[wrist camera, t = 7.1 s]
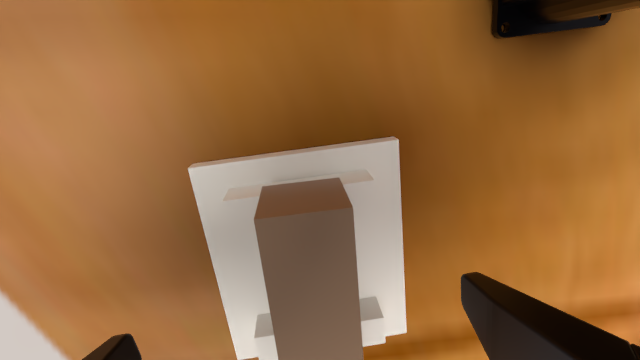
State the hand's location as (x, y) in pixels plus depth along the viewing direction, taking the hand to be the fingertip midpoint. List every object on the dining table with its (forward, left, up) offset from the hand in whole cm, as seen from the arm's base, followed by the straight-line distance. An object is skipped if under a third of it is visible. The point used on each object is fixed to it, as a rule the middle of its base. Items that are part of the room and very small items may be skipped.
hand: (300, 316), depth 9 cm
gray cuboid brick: (0, +5, -9) cm, 10 cm away
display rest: (0, +5, -12) cm, 13 cm away
